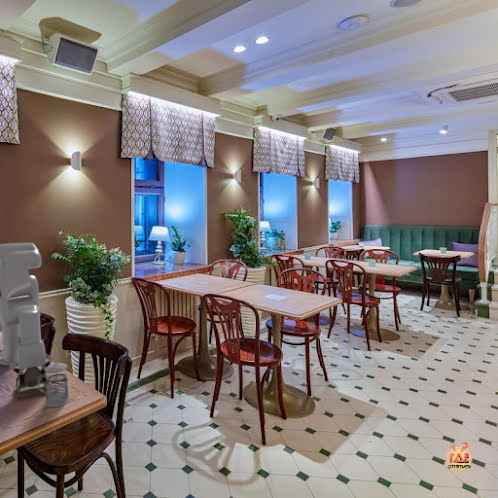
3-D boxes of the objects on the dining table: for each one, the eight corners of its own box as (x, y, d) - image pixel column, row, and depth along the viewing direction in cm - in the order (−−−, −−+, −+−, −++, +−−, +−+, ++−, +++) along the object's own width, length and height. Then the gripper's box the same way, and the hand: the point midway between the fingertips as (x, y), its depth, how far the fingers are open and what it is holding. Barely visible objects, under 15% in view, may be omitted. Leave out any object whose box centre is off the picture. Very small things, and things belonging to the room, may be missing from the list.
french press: (74, 401, 150) (71, 341, 147) (42, 411, 143) (38, 348, 140) (67, 391, 158) (64, 334, 155) (36, 401, 150) (32, 340, 147)
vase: (34, 389, 155) (32, 369, 153) (19, 388, 156) (18, 367, 155) (46, 382, 161) (45, 362, 160) (32, 380, 163) (31, 361, 162)
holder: (17, 388, 161) (17, 381, 160) (48, 381, 167) (47, 375, 166) (17, 400, 151) (17, 393, 150) (50, 392, 157) (50, 385, 157)
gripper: (5, 346, 148) (8, 389, 151) (54, 338, 158) (57, 378, 160) (5, 340, 155) (8, 381, 157) (53, 333, 164) (55, 372, 166)
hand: (33, 379), depth 158 cm, fingers closed on vase, 6 cm apart
